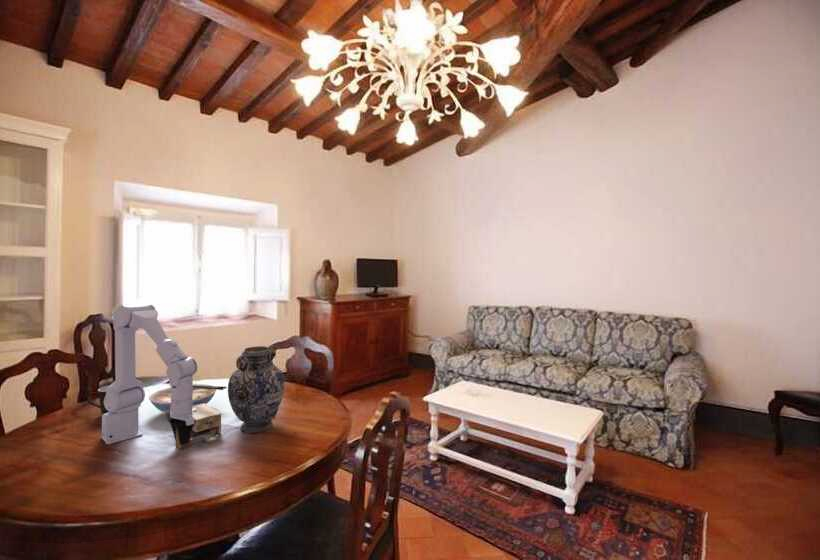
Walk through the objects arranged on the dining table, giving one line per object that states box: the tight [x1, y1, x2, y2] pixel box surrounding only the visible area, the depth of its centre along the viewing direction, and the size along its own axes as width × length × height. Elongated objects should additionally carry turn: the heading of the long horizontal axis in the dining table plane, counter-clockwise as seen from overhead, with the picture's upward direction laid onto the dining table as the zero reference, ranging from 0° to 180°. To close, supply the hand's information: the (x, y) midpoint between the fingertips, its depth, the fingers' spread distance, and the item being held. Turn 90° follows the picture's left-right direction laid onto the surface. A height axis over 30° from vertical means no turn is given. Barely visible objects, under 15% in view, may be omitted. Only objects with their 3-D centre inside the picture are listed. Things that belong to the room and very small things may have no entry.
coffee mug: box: [86, 385, 110, 416], centre depth 144 cm, size 12×9×10 cm
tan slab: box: [192, 403, 222, 435], centre depth 130 cm, size 8×15×7 cm, turn 49°
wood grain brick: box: [175, 429, 217, 451], centre depth 123 cm, size 12×3×6 cm, turn 154°
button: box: [204, 433, 220, 443], centre depth 124 cm, size 4×4×1 cm
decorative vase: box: [227, 344, 285, 434], centre depth 134 cm, size 21×19×28 cm
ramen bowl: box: [148, 383, 227, 414], centre depth 148 cm, size 25×23×8 cm
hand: (181, 441), depth 118 cm, fingers closed on wood grain brick, 3 cm apart
